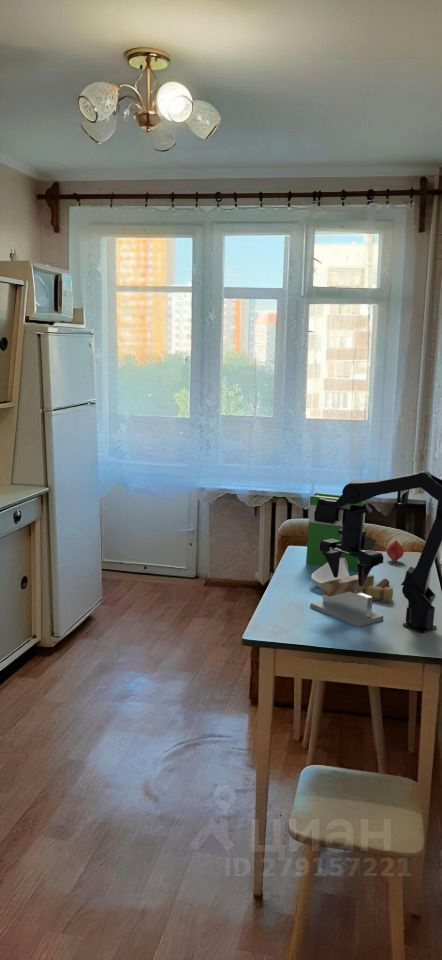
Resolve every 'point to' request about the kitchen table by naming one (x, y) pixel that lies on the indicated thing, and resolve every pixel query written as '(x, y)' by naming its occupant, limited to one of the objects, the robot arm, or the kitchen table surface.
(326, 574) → the spoon rest
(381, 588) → the gavel
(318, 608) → the board
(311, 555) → the hardback book
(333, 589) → the walnut batten
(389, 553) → the onion
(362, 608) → the steel ridge
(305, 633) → the kitchen table surface
